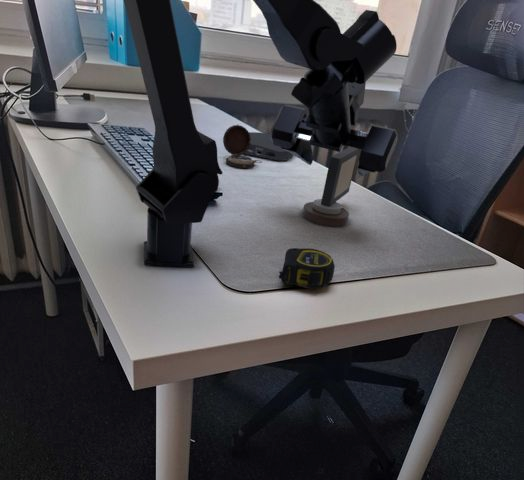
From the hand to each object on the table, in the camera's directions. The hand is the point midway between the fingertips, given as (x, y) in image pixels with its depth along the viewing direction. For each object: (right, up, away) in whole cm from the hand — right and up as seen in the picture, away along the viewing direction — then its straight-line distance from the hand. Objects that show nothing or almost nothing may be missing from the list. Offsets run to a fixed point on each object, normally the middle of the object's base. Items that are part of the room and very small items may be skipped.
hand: (336, 169), depth 86 cm
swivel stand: (-1, -7, +5) cm, 8 cm away
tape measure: (-7, -22, -18) cm, 29 cm away
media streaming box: (-12, +18, +38) cm, 44 cm away
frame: (0, -4, +7) cm, 8 cm away
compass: (-17, +10, +26) cm, 33 cm away
